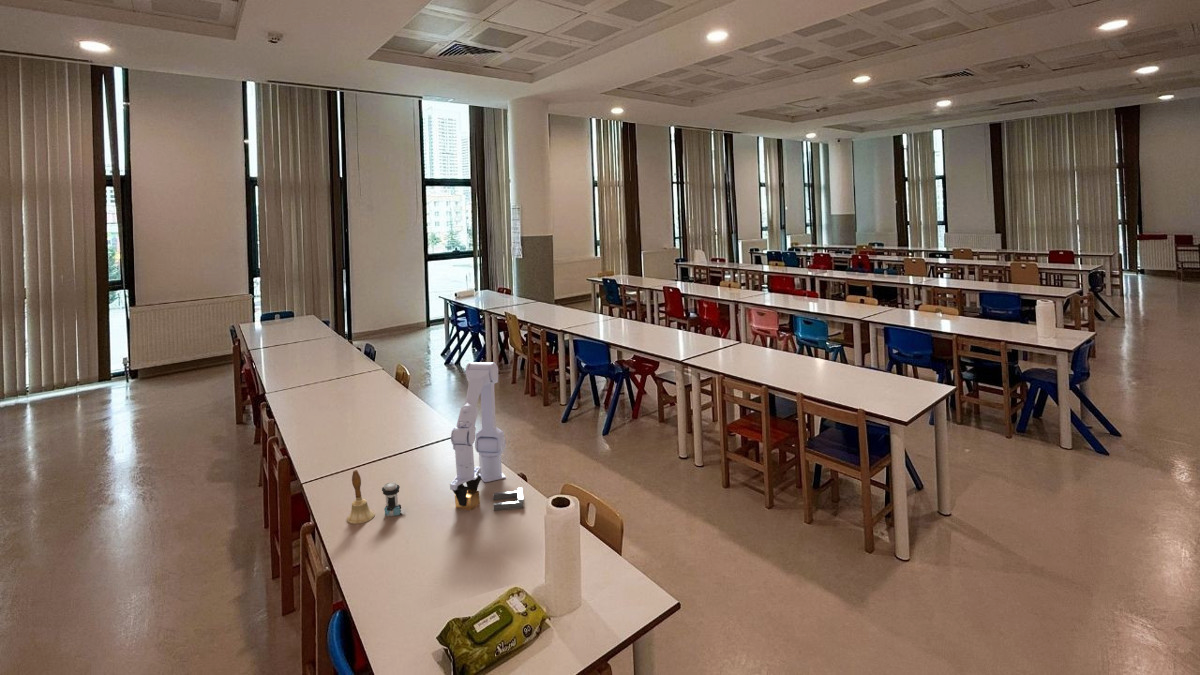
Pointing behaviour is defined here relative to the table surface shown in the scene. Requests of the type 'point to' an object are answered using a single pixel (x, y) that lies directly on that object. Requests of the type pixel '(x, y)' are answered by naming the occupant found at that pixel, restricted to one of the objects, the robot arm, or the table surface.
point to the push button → (392, 499)
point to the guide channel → (509, 495)
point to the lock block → (469, 500)
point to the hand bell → (359, 504)
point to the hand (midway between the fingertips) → (467, 501)
